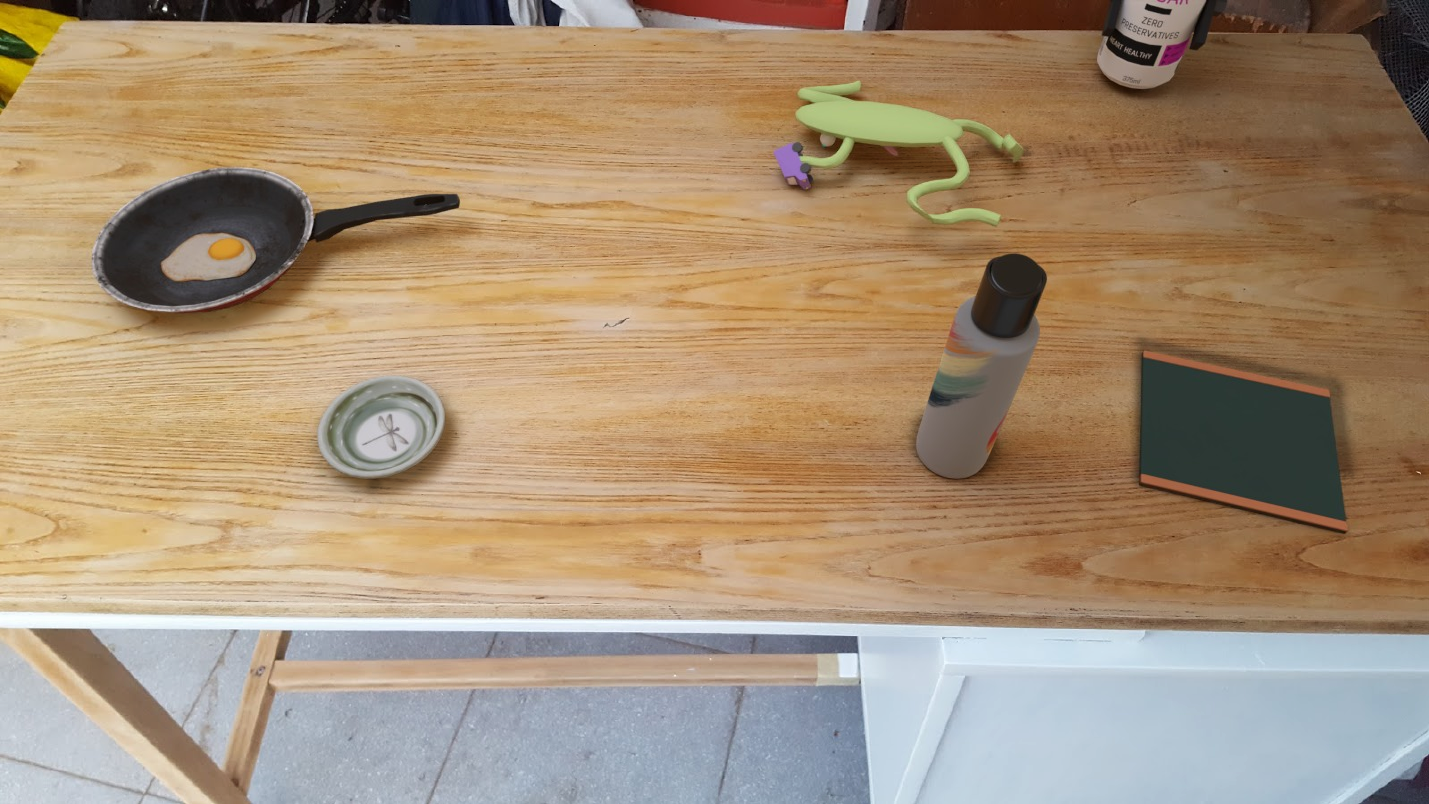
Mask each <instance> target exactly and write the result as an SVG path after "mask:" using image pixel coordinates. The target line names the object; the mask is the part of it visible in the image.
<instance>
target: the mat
mask: <svg viewBox="0 0 1429 804" xmlns="http://www.w3.org/2000/svg"><path fill="white" fill-rule="evenodd" d="M1140 371H1141V373H1140V375H1141V378H1140V385H1141V386H1140V420H1139V421H1140V422H1139V423H1140V424H1139V426H1140V427H1139V467H1138V468H1139V470H1138V471H1139V472H1138V473H1139V474H1138V485H1139V486H1142V487H1146V488H1150V489H1154V490H1159V491H1164V492H1168V493H1172V494H1176V495H1180V496H1185V497H1187V498H1188V497H1189V498H1192V499H1196V500H1200V501H1204V502H1210V503H1214V504H1219V505H1222V506H1227V507H1230V508H1234V509H1240V510H1243V511H1248V512H1252V513H1255V514H1259V515H1260V514H1261V515H1265V516H1268V517H1274V518H1278V519H1282V520H1286V521H1290V522H1294V523H1298V524H1303V525H1306V526H1311V527H1314V528H1315V527H1316V528H1320V529H1324V530H1328V531H1332V532H1337V533H1340V534H1346V533H1347V532H1348V531H1349V528H1348V521H1347V517H1346V511H1345V502H1344V495H1343V487H1342V481H1341V473H1340V464H1339V457H1338V449H1337V442H1336V435H1335V434H1336V433H1335V428H1334V427H1335V426H1334V420H1333V413H1332V406H1331V404H1332V403H1331V393H1330V389H1326V388H1321V387H1317V386H1312V385H1308V384H1303V383H1299V382H1294V381H1290V380H1285V379H1280V378H1275V377H1271V376H1266V375H1262V374H1256V373H1251V372H1247V371H1243V370H1238V369H1233V368H1229V367H1223V366H1219V365H1215V364H1211V363H1210V364H1209V363H1205V362H1200V361H1196V360H1192V359H1187V358H1182V357H1178V356H1172V355H1168V354H1163V353H1159V352H1154V351H1149V350H1143V351H1142V352H1141V370H1140Z"/></svg>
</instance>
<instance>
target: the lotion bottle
mask: <svg viewBox="0 0 1429 804" xmlns="http://www.w3.org/2000/svg"><path fill="white" fill-rule="evenodd" d="M1047 282H1048V276H1047V272H1046V271H1045V269H1044V268H1043V267H1042V266H1040V265H1039V264H1038V263H1037V262H1036V261H1035V260H1034V259H1032V258H1031V257H1030V256H1027V255H1025V254H1022V253H1017V252H1016V253H1014V252H1013V253H1005V254H1003V255H1000V256H996V257H993V258H991V259H990V260H989V261H988V262H987V264H986V266H985V269H984V272H983V274H982V277H981V280H980V283H979V285H978V288H977V291H976V294H975V295H974V296H971V297H969V298H967V299H966V300H964V302H962V303H961V304H960V305H959V307H958V308H957V310H956V312H955V315H954V317H953V320H952V323H951V327H950V329H949V333H948V335H947V338H946V343H945V345H944V349H943V351H942V355H941V359H940V361H939V364H938V367H937V371H936V374H935V377H934V380H933V383H932V387H931V390H930V393H929V396H928V399H927V403H926V406H925V408H924V412H923V415H922V418H921V422H920V425H919V428H918V430H917V436H916V441H915V449H916V453H917V456H918V457H919V460H920V462H921V463H922V464H923V465H924V466H925V467H926V468H927V469H928V470H930V471H931V472H932V473H934V474H936V475H939V476H940V477H943V478H948V479H953V480H954V479H956V480H957V479H965V478H969V477H972V476H974V475H975V474H977V473H978V472H980V470H982V469H983V467H984V466H985V464H986V462H987V460H988V458H989V456H990V454H991V453H992V452H991V451H992V450H993V447H994V445H995V443H996V440H997V438H998V436H999V433H1000V431H1001V429H1002V427H1003V424H1004V422H1005V420H1006V417H1007V415H1008V413H1009V411H1010V408H1011V406H1012V403H1013V401H1014V398H1015V396H1016V394H1017V392H1018V390H1019V387H1020V384H1021V382H1022V380H1023V379H1024V376H1025V373H1026V371H1027V368H1028V366H1029V364H1030V361H1031V359H1032V357H1033V355H1034V352H1035V350H1036V347H1037V345H1038V342H1039V341H1040V340H1039V339H1040V336H1041V326H1040V322H1039V320H1038V318H1037V316H1036V314H1035V313H1036V311H1037V308H1038V306H1039V303H1040V301H1041V298H1042V296H1043V293H1044V290H1045V288H1046V285H1047Z"/></svg>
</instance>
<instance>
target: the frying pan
mask: <svg viewBox="0 0 1429 804" xmlns="http://www.w3.org/2000/svg"><path fill="white" fill-rule="evenodd" d="M460 204H461V199H460V196H459V195H458V194H457V193H425V194H418V195H413V196H412V195H411V196H406V197H400V198H399V197H398V198H392V199H385V200H378V201H373V202H367V203H362V204H357V205H351V206H347V207H340V208H329V209H328V208H327V209H324V210H321V211H318V212H316V213H315V215H314V209H313V206H312V203H311V201H310V199H309V196H308V195H307V193H305V191H304V190H303V189H302V188H301V187H300V186H299V185H298V184H296V183H295V182H293V181H292V180H291V179H289V178H287V177H286V176H283V175H280V174H278V173H276V172H273V171H269V170H265V169H260V168H255V167H244V166H243V167H241V166H229V167H215V168H208V169H203V170H198V171H197V170H196V171H193V172H189V173H186V174H183V175H180V176H176V177H173V178H170V179H168V180H166V181H163V182H161V183H158V184H156V185H154V186H152V187H151V188H149V189H147V190H145V191H143V192H141V193H140V194H138V195H137V196H135V197H134V198H132V199H131V200H129V201H128V202H127V203H125V204H124V205H122V206H121V207H120V208H119V209H118V210H117V211H116V212H115V213H114V214H113V215H112V216H111V217H110V218H109V219H108V220H107V222H106V223H105V224H104V226H103V227H102V228H101V230H100V232H99V233H98V235H97V237H96V239H95V241H94V244H93V247H92V251H91V260H90V264H91V268H92V273H93V277H94V279H95V280H96V282H97V283H98V285H99V286H100V288H101V289H102V290H103V291H104V292H105V293H107V294H108V295H109V296H110V297H112V298H113V299H115V300H117V301H119V302H121V303H123V304H125V305H127V306H130V307H133V308H138V309H142V310H146V311H151V312H160V313H161V312H162V313H171V314H180V315H183V314H184V315H185V314H186V315H187V314H198V313H199V314H200V313H210V312H211V313H212V312H215V311H221V310H225V309H229V308H232V307H234V306H238V305H241V304H243V303H245V302H247V301H249V300H252V299H254V298H255V297H258V296H259V295H261V294H262V293H263V292H265V291H267V290H268V289H269V288H271V287H272V286H273V285H274V284H276V282H278V281H279V280H280V279H281V278H282V277H283V276H284V275H285V274H287V272H288V271H289V270H290V268H291V267H292V266H293V265H294V264H295V262H296V261H297V260H298V258H299V257H300V255H301V254H302V252H303V251H304V249H305V247H306V245H307V243H308V242H312V241H315V242H316V243H320V242H323V241H326V240H329V239H331V238H333V237H335V236H336V235H338V234H340V233H342V232H343V231H345V230H348V229H351V228H356V227H358V226H362V225H366V224H369V223H372V222H376V221H383V220H384V221H385V220H393V219H395V220H396V219H405V218H414V217H424V216H426V217H427V216H431V215H437V214H440V213H444V212H449V211H452V210H456V209H459V208H460V206H461V205H460Z"/></svg>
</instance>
